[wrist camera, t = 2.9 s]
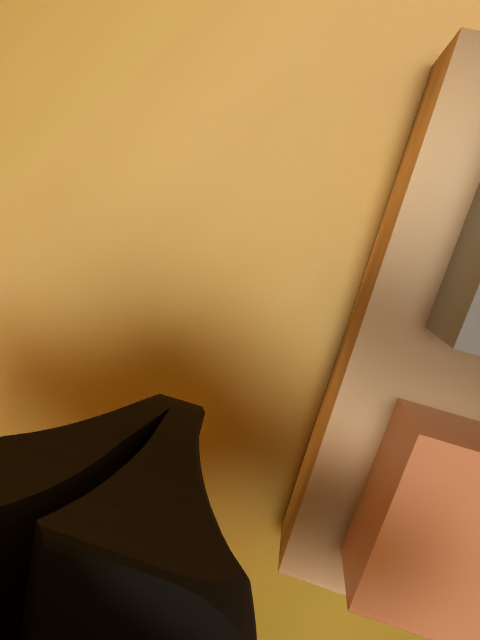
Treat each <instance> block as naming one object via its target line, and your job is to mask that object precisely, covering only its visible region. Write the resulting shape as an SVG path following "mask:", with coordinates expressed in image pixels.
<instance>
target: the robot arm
mask: <svg viewBox="0 0 480 640" xmlns="http://www.w3.org/2000/svg"><path fill="white" fill-rule="evenodd" d="M204 414H205V411H204V409H203V407H201V406H198V405H195V404H191V403H188V402H185V401H182V400H178V399H175V398H172V397H169V396H165V395H162V394H159V395H155V396H152V397H150V398H147V399H144V400H142V401H139V402H136V403H134V404H131V405H129V406H126V407H123V408H120V409H118V410H115V411H112V412H109V413H106V414H103V415H100V416H97V417H93V418H90V419H87V420H84V421H81V422H77V423H73V424H70V425H66V426H61V427H57V428H52V429H47V430H42V431H37V432H32V433H24V434H17V435H9V436H2V437H0V640H257V635H256V623H255V614H254V605H253V598H252V591H251V584H250V580H249V578H248V576H247V575H246V573H245V572H244V570H243V569H242V567H241V566H240V564H239V563H238V561H237V560H236V558H235V557H234V555H233V553H232V552H231V550H230V549H229V547H228V545H227V543H226V541H225V539H224V537H223V535H222V533H221V531H220V528H219V526H218V523H217V521H216V518H215V516H214V513H213V511H212V508H211V506H210V503H209V499H208V496H207V493H206V489H205V485H204V481H203V476H202V470H201V463H200V454H199V434H200V430H201V426H202V422H203V418H204Z"/></svg>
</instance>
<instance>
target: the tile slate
mask: <svg viewBox="0 0 480 640" xmlns="http://www.w3.org/2000/svg"><path fill="white" fill-rule="evenodd" d="M425 327H426V328H427V329H428V330H430V331H431V332H432V333H434V334H435V335H436V336H437V337H439V338H440V339H441V340H443V341H444V342H445V343H446V344H448V345H449V346H450V347H452V348H453V349H456V350H459V351H463V352H467V353H470V354H474V355H477V356H480V182H479V185H478V188H477V190H476V193H475V196H474V198H473V201H472V203H471V206H470V209H469V211H468V214H467V217H466V219H465V222H464V225H463V227H462V230H461V233H460V235H459V238H458V240H457V243H456V246H455V248H454V251H453V254H452V256H451V259H450V262H449V264H448V267H447V270H446V272H445V275H444V278H443V280H442V283H441V285H440V288H439V291H438V293H437V296H436V299H435V301H434V304H433V307H432V309H431V312H430V315H429V317H428V320H427V323H426V325H425Z"/></svg>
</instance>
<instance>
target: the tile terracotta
mask: <svg viewBox="0 0 480 640" xmlns="http://www.w3.org/2000/svg"><path fill="white" fill-rule="evenodd" d="M341 555H342V564H343V573H344V581H345V590H346V599H347V607H348V611H349V612H352V613H355V614H358V615H361V616H364V617H367V618H370V619H373V620H376V621H378V622H381V623H384V624H387V625H390V626H393V627H396V628H399V629H402V630H404V631H407V632H410V633H413V634H416V635H419V636H422V637H425V638H428V639H431V640H480V421H477V420H473V419H470V418H466V417H463V416H460V415H456V414H453V413H449V412H446V411H442V410H439V409H436V408H432V407H429V406H425V405H422V404H418V403H415V402H412V401H408V400H405V399H401V398H398V399H397V402H396V405H395V407H394V410H393V412H392V415H391V418H390V420H389V423H388V426H387V428H386V431H385V434H384V436H383V439H382V442H381V444H380V447H379V450H378V452H377V455H376V457H375V460H374V463H373V465H372V468H371V471H370V473H369V476H368V479H367V481H366V484H365V487H364V489H363V492H362V494H361V497H360V500H359V502H358V505H357V508H356V510H355V513H354V516H353V518H352V521H351V524H350V526H349V529H348V532H347V534H346V537H345V539H344V542H343V545H342V547H341Z"/></svg>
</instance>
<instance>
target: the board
mask: <svg viewBox="0 0 480 640" xmlns="http://www.w3.org/2000/svg"><path fill="white" fill-rule="evenodd" d="M479 182H480V31H478V30H473V29H468V28H463V27H461V29H460V30H459V31H458V33H457V34H456V35H455V37H454V38H453V39H452V41H451V42H450V43H449V44H448V46H447V47H446V48H445V50H444V51H443V52H442V54H441V55H440V56H439V58H438V59H437V60H436V61H435V63H434V64H433V66H432V69H431V72H430V75H429V79H428V82H427V85H426V88H425V91H424V94H423V97H422V100H421V103H420V106H419V109H418V112H417V115H416V118H415V121H414V124H413V127H412V130H411V133H410V136H409V139H408V143H407V146H406V149H405V152H404V155H403V158H402V161H401V164H400V167H399V170H398V173H397V176H396V179H395V182H394V185H393V188H392V191H391V194H390V197H389V200H388V204H387V207H386V210H385V213H384V216H383V219H382V222H381V225H380V228H379V231H378V234H377V237H376V240H375V243H374V246H373V249H372V252H371V255H370V258H369V261H368V265H367V268H366V271H365V274H364V277H363V280H362V283H361V286H360V289H359V292H358V295H357V298H356V301H355V304H354V307H353V310H352V313H351V316H350V319H349V322H348V325H347V329H346V332H345V335H344V338H343V341H342V344H341V347H340V350H339V353H338V356H337V359H336V362H335V365H334V368H333V371H332V374H331V377H330V380H329V383H328V386H327V390H326V393H325V396H324V399H323V402H322V405H321V408H320V411H319V414H318V417H317V420H316V423H315V426H314V429H313V432H312V435H311V438H310V441H309V444H308V447H307V451H306V454H305V457H304V460H303V463H302V466H301V469H300V472H299V475H298V478H297V481H296V484H295V487H294V490H293V493H292V496H291V499H290V502H289V505H288V508H287V511H286V515H285V518H284V521H283V524H282V527H281V540H280V553H279V566H278V573H281V574H284V575H286V576H289V577H292V578H295V579H298V580H301V581H304V582H307V583H310V584H313V585H316V586H319V587H322V588H325V589H327V590H330V591H333V592H336V593H339V594H342V595H345V596H346V590H345V581H344V573H343V564H342V555H341V547H342V545H343V542H344V539H345V537H346V534H347V532H348V529H349V526H350V524H351V521H352V518H353V516H354V513H355V510H356V508H357V505H358V502H359V500H360V497H361V494H362V492H363V489H364V487H365V484H366V481H367V479H368V476H369V473H370V471H371V468H372V465H373V463H374V460H375V457H376V455H377V452H378V450H379V447H380V444H381V442H382V439H383V436H384V434H385V431H386V428H387V426H388V423H389V420H390V418H391V415H392V412H393V410H394V407H395V405H396V402H397V399H398V398H401V399H405V400H408V401H412V402H415V403H418V404H422V405H425V406H429V407H432V408H436V409H439V410H442V411H446V412H449V413H453V414H456V415H460V416H463V417H466V418H470V419H473V420H477V421H480V356H477V355H474V354H470V353H467V352H463V351H459V350H456V349H453V348H452V347H450V346H449V345H448V344H446V343H445V342H444V341H443V340H441V339H440V338H439V337H437V336H436V335H435V334H434V333H432V332H431V331H430V330H428V329H427V328H426V327H425V325H426V323H427V320H428V317H429V315H430V312H431V309H432V307H433V304H434V301H435V299H436V296H437V293H438V291H439V288H440V285H441V283H442V280H443V278H444V275H445V272H446V270H447V267H448V264H449V262H450V259H451V256H452V254H453V251H454V248H455V246H456V243H457V240H458V238H459V235H460V233H461V230H462V227H463V225H464V222H465V219H466V217H467V214H468V211H469V209H470V206H471V203H472V201H473V198H474V196H475V193H476V190H477V188H478V185H479Z"/></svg>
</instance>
